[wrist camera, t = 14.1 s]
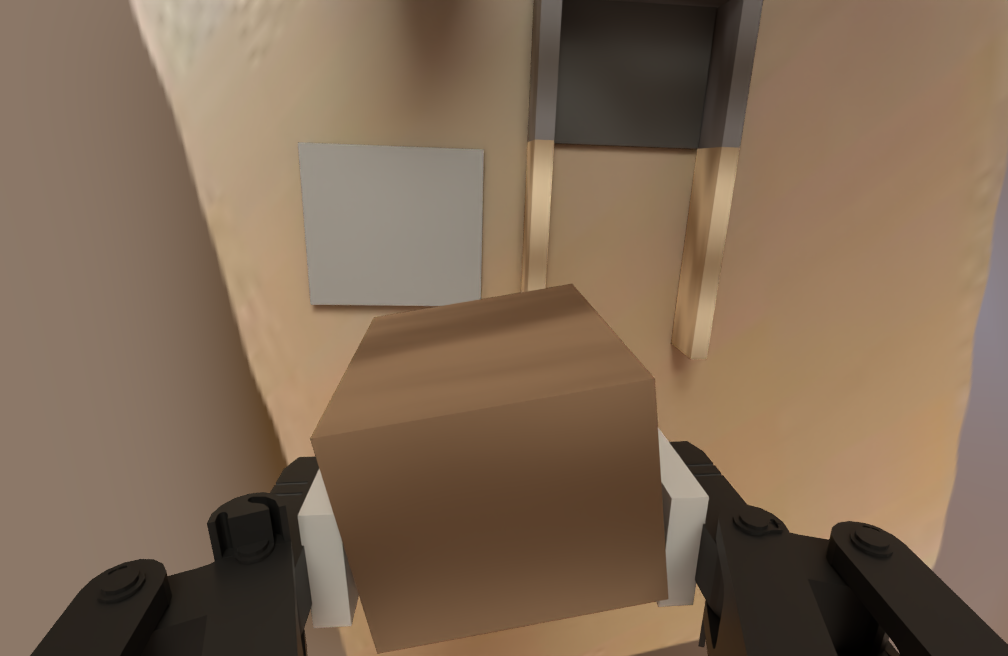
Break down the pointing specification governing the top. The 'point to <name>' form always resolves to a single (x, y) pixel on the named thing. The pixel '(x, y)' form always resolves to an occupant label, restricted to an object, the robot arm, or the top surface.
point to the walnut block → (494, 469)
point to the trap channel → (644, 117)
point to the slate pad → (392, 224)
